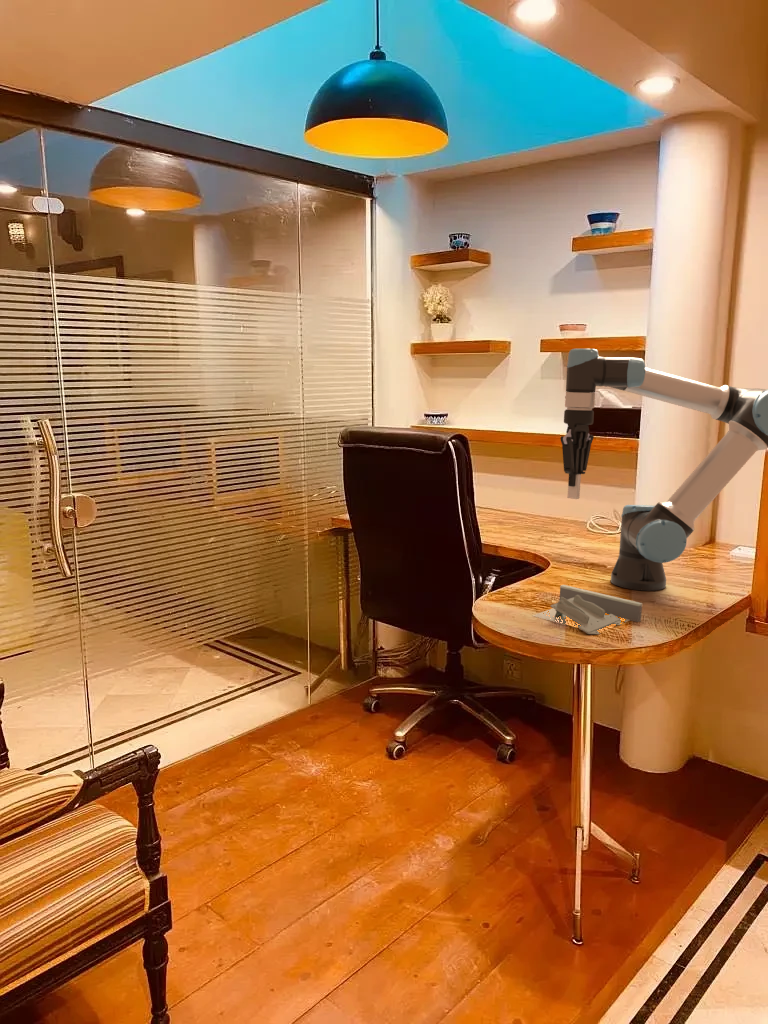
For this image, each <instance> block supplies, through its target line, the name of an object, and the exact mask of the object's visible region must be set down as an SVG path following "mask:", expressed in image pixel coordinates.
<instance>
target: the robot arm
mask: <svg viewBox="0 0 768 1024" xmlns="http://www.w3.org/2000/svg"><path fill="white" fill-rule="evenodd" d="M566 364H567V365H566V379H565V380H566V381H565V382H566V384H565V396H564V407H565V408H566V409H565V410H564V413H563V423H564V424H566V425H567V429H566V434H565V435H562V436H560V443H561V447H562V448H561V449H562V459H563V460H562V462H563V463H562V464H563V472H564V474H567V475H568V482H567V483H568V484H567V485H568V486H567V499H572V500H579V499H580V493H581V492H580V491H581V481H582V480H581V479H582V475H585V474H586V471H587V468H588V464H589V463H588V462H589V457H590V453H591V448H592V447H591V446H592V443H593V440H594V438H595V437H594V434H590V428H589V425H590V426H591V425H593V424H594V417H595V416H594V415H595V412H594V410H593V409H594V408H595V402H596V400H595V399H596V387H605V388H606V387H607V388H608V387H609V388H612V389H615V390H620V391H624V392H627V393H631V394H635V395H639V396H642V397H646V398H649V399H653V400H657V401H661V402H664V403H667V404H672V405H675V406H678V407H683V408H686V409H689V410H690V409H691V410H693V411H698V412H700V413H701V412H702V413H703V414H704V413H705V414H709V415H710V417H711V419H713V420H716V421H720V422H722V423H726V424H727V425H728V431H727V432H726V433H725V435H724V436H723V437H722V438H721V439H720V440H719V441H718V442H717V444H716V445H715V446H714V447H712V449H711V451H710V452H708V454H707V455H706V457H704V458H703V460H702V461H701V462H700V463H699V464H698V465H697V467H696V468H695V469H693V471H692V472H691V473H690V475H689V476H687V478H686V479H685V480H684V481H683V482H682V483H681V485H680V486H678V488H677V489H676V490H675V492H674V493H673V494H672V495H671V496H670V497H669V499H667V500H666V501H657V503H656V504H654V505H652V504H651V505H650V504H648V505H647V504H626V505H624V506H623V508H622V513H621V515H620V516H621V525H620V526H621V527H620V535H619V536H620V539H619V549H618V551H619V552H618V557H617V559H616V563H615V564H614V567H613V568H612V572H611V574H610V583H612V584H613V585H615V586H616V587H620V588H625V589H628V590H635V591H645V592H646V591H648V592H649V591H660V590H664V589H665V588H666V586H667V576H666V573H665V568H664V564H666V563H669V562H672V561H675V560H677V559H678V558H679V557H680V556H681V555H682V554H683V553H684V551H685V550H686V548H687V539H688V538H689V537H690V536H691V535H692V533H693V532H694V530H695V521H696V520H697V518H699V517H700V515H701V514H702V513H703V512H704V511H705V510H706V509H707V508H708V506H709V505H710V504H711V502H713V501H714V500H715V498H716V497H717V496H718V495H719V494H720V493H721V492H722V491H723V490H724V489H725V487H726V486H727V485H728V484H729V483H730V481H731V480H732V479H733V478H734V477H735V476H736V475H737V474H738V472H739V471H741V470H742V468H743V467H745V465H746V463H748V461H749V460H750V459H751V458H752V457H753V456H754V455H755V454H756V452H758V451H762V450H767V449H768V388H743V387H736V386H731V385H727V384H723V385H722V386H720V387H719V386H716V385H712V384H708V383H705V382H700V381H697V380H694V379H690V378H685V377H682V376H678V375H675V374H671V373H667V372H664V371H659V370H656V369H654V368H653V369H651V368H649V367H646V363H645V359H643V358H639V357H633V356H632V357H629V356H627V357H622V356H621V357H619V356H618V357H610V356H609V357H608V356H606V357H604V356H600V355H599V350H598V349H595V348H572V349H570V350H569V352H568V355H567V363H566Z"/></svg>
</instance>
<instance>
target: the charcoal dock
mask: <svg viewBox="0 0 768 1024" xmlns="http://www.w3.org/2000/svg"><path fill="white" fill-rule="evenodd" d="M575 595H580V597H581V598H582V599H583V600H584V601H588V602H591V603H594V604H595V605H597V606H599V607H600V608H602V609H604V610H605V613H607V614H613V615H615V616H617V617H621V618H624V619H626V620H625V621H624V622H625V623H627V622H630V621H632V622H636V623H640V622H641V621H642V611H643V605H644V604H643V603H642V602H639V601H635V600H630V599H626V598H621V597H619V596H613V595H609V594H604V593H601V592H596V591H592V590H587V589H585V588H583V589H582V588H579V587H575V586H570V585H567V584H561V585H560V586H559V600H558V602H559V601H560V599H561V597H564V598H565V599H567V600H568V599H571V598H573V597H575ZM577 598H578V597H577ZM548 611H549V612H548ZM547 612H548V613H547ZM543 613H544V614H543ZM549 613H550V614H549ZM546 614H547V616H546ZM555 614H556V611H555V609H554V608H552V607H551V608H550V609H547V610H545V611H541V612H539V613H536V614H533V615H532V617H534V616H535V617H534V618H537V617H538V618H537V619H541V618H542V620H545V619H546V621H548V620H550V621H549V622H552V621H553V623H555V622H556V621H557V619H556V617H555ZM548 615H550V617H549V616H548ZM553 616H554V617H553ZM558 617H559V616H558ZM558 617H557V618H558ZM564 617H565V618H564ZM550 618H551V619H550ZM561 619H562V620H563V623H562V624H561V623H560V622H562V621H561ZM561 619H560V617H559V619H558V620H559V623H560V625H563V624H565V623H566V621H565V619H566V616H565V615H564V614H563V615H561ZM555 620H556V621H555ZM557 622H558V621H557ZM559 623H558V624H559ZM622 623H623V622H622ZM575 624H576V623H575ZM623 624H624V623H623ZM576 625H577V624H576ZM564 626H566V624H565V625H564ZM574 626H575V625H574ZM578 626H580V625H578Z"/></svg>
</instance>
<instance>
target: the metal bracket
mask: <svg viewBox="0 0 768 1024" xmlns="http://www.w3.org/2000/svg"><path fill="white" fill-rule="evenodd" d="M577 597H578V598H577ZM559 600H560V601H559ZM559 600H558V602H557V603H552V604H551V605H550V608H551V609H552V608H554V609H555V611H556V614H555V617H558V616H561V615H563V614H564V615H565V616H567V617H569V618H570V619H572V620H573V621H575V622H577V623H578V624H580V625H581V626H578V628H579V629H578V630H581V631H582V632H583V633H586V634H588V635H600V633H599V632H598V631H597V630H599V629H602V628H604V627H606V626H609V625H611V624H616V625H619V626H621V624H620V623H621V620H620V618H618V617H616V616H615V615H613V614H609V615H605V610H604V609H602V608H600V607H599V606H597V605H595V604H594V603H591V602H588V601H584V600H583V599H582V598H581V597H580V595H575V597H573V598H571V599H568V600H567V599H565V598H564V597H561V599H560V598H559Z"/></svg>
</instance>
